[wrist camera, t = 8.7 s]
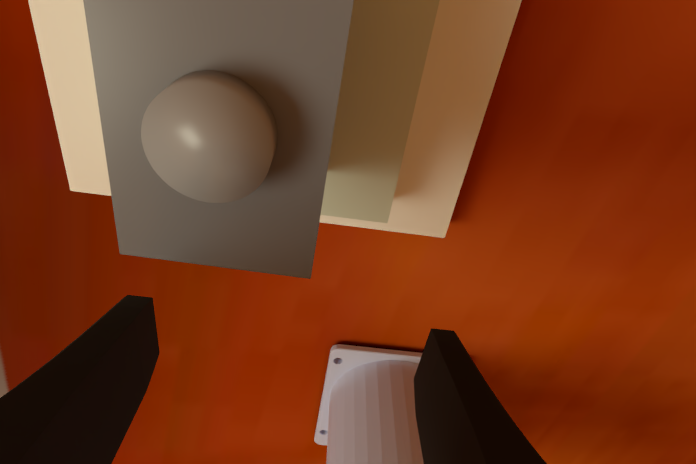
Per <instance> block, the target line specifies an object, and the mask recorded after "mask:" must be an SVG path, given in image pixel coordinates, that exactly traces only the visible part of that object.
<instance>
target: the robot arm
mask: <svg viewBox="0 0 696 464" xmlns="http://www.w3.org/2000/svg"><path fill="white" fill-rule="evenodd" d="M158 355H159V346H158V338H157V330H156V322H155V314H154V306H153V298H150V297H141V296H132V295H127V296H126V297H124V298H123V299H122V300H121V301H120V302H118V303H117V304H116V305H115V306H114V307H113V308H112V309H110V310H109V311H108V312H107V313H106V314H105V315H104V316H102V317H101V318H100V319H99V320H98V321H97V322H96V323H94V324H93V325H92V326H91V327H90V328H89V329H87V330H86V331H85V332H84V333H83V334H82V335H80V336H79V337H78V338H77V339H76V340H74V341H73V342H72V343H71V344H70V345H68V346H67V347H66V348H65V349H64V350H62V351H61V352H60V353H59V354H58V355H56V356H55V357H54V358H53V359H51V360H50V361H49V362H48V363H46V364H45V365H44V366H42V367H41V368H40V369H38V370H37V371H36V372H35V373H33V374H32V375H31V376H29V377H28V378H27V379H25V380H24V381H23V382H21V383H20V384H19V385H17V386H16V387H15V388H13V389H12V390H11V391H9V392H8V393H7V394H5V395H4V396H2V397H1V398H0V464H111V463H112V461H113V459H114V457H115V455H116V453H117V451H118V449H119V447H120V445H121V443H122V441H123V438H124V436H125V434H126V432H127V430H128V428H129V426H130V424H131V422H132V420H133V418H134V416H135V414H136V412H137V410H138V407H139V405H140V403H141V401H142V399H143V397H144V395H145V393H146V390H147V388H148V385H149V382H150V379H151V376H152V374H153V371H154V368H155V365H156V362H157V359H158ZM337 358H340V359H337ZM314 440H315V442H316V443H317V444H319V445H327V462H326V464H547V463H546V462H545V461H544V460H543V459H542V458H541V456H540V455H539V454H538V453H537V451H536V450H535V449H534V448H533V446H532V445H531V444H530V443H529V441H528V440H527V439H526V437H525V436H524V435H523V433H522V432H521V431H520V430H519V428H518V427H517V426H516V424H515V423H514V422H513V420H512V419H511V417H510V416H509V415H508V413H507V412H506V410H505V409H504V408H503V406H502V405H501V403H500V402H499V400H498V399H497V397H496V396H495V394H494V393H493V391H492V390H491V389H490V387H489V386H488V384H487V383H486V381H485V380H484V378H483V376H482V375H481V373H480V372H479V370H478V369H477V367H476V365H475V364H474V362H473V361H472V359H471V357H470V356H469V354H468V353H467V351H466V349H465V348H464V346H463V344H462V343H461V341H460V340H459V338H458V336H457V335H456V333H455V332H454V331H449V330H440V329H431V331H430V334H429V336H428V339H427V342H426V345H425V348H424V351H423V353H419V352H409V351H400V350H390V349H381V348H371V347H362V346H352V345H343V344H337V345H334V346H333V347H332V348H331V350H330V355H329V361H328V366H327V372H326V377H325V382H324V388H323V393H322V399H321V404H320V409H319V415H318V420H317V426H316V431H315V438H314Z"/></svg>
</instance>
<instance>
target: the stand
mask: <svg viewBox="0 0 696 464" xmlns="http://www.w3.org/2000/svg"><path fill="white" fill-rule="evenodd" d="M28 2H29V6H30V11H31V15H32V20H33V24H34V29H35V33H36V38H37V42H38V47H39V51H40V56H41V60H42V65H43V69H44V74H45V78H46V83H47V87H48V92H49V96H50V101H51V105H52V110H53V114H54V119H55V123H56V128H57V132H58V137H59V141H60V146H61V150H62V155H63V159H64V164H65V168H66V172H67V177H68V181H69V186H70V190H71V191H77V192H85V193H93V194H101V195H109V196H111V189H110V182H109V175H108V168H107V161H106V154H105V147H104V140H103V134H102V127H101V120H100V113H99V106H98V99H97V92H96V85H95V78H94V71H93V64H92V57H91V51H90V44H89V37H88V30H87V23H86V16H85V9H84V2H83V0H28ZM521 2H522V0H354V2H353V9H352V15H351V22H350V28H349V35H348V41H347V47H346V54H345V60H344V67H343V73H342V79H341V86H340V92H339V99H338V105H337V112H336V118H335V124H334V131H333V137H332V144H331V150H330V157H329V163H328V169H327V176H326V182H325V189H324V195H323V202H322V208H321V214H320V221H319V222H322V223H330V224H338V225H346V226H354V227H362V228H369V229H377V230H385V231H393V232H401V233H409V234H417V235H425V236H433V237H441V238H445V235H446V232H447V229H448V226H449V223H450V220H451V217H452V214H453V211H454V207H455V204H456V201H457V198H458V195H459V192H460V189H461V186H462V183H463V180H464V177H465V174H466V171H467V168H468V164H469V161H470V158H471V155H472V152H473V149H474V146H475V143H476V140H477V137H478V134H479V131H480V128H481V124H482V121H483V118H484V115H485V112H486V109H487V106H488V103H489V100H490V97H491V94H492V91H493V88H494V85H495V81H496V78H497V75H498V72H499V69H500V66H501V63H502V60H503V57H504V54H505V51H506V48H507V45H508V41H509V38H510V35H511V32H512V29H513V26H514V23H515V20H516V17H517V14H518V11H519V8H520V5H521Z"/></svg>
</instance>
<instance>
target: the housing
mask: <svg viewBox="0 0 696 464" xmlns="http://www.w3.org/2000/svg"><path fill="white" fill-rule="evenodd" d="M83 2H84V9H85V16H86V23H87V30H88V37H89V44H90V51H91V57H92V64H93V71H94V78H95V85H96V92H97V99H98V106H99V113H100V120H101V127H102V134H103V140H104V147H105V154H106V161H107V168H108V175H109V182H110V189H111V196H112V203H113V210H114V217H115V223H116V230H117V237H118V244H119V251H120V254H125V255H133V256H140V257H148V258H156V259H163V260H171V261H179V262H186V263H194V264H202V265H209V266H217V267H224V268H232V269H240V270H247V271H255V272H263V273H270V274H278V275H286V276H293V277H301V278H309V279H311V272H312V266H313V259H314V253H315V246H316V240H317V234H318V227H319V221H320V214H321V208H322V202H323V195H324V189H325V182H326V176H327V169H328V163H329V157H330V150H331V144H332V137H333V131H334V124H335V118H336V112H337V105H338V99H339V92H340V86H341V79H342V73H343V67H344V60H345V54H346V47H347V41H348V35H349V28H350V22H351V15H352V9H353V2H354V0H83Z"/></svg>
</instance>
